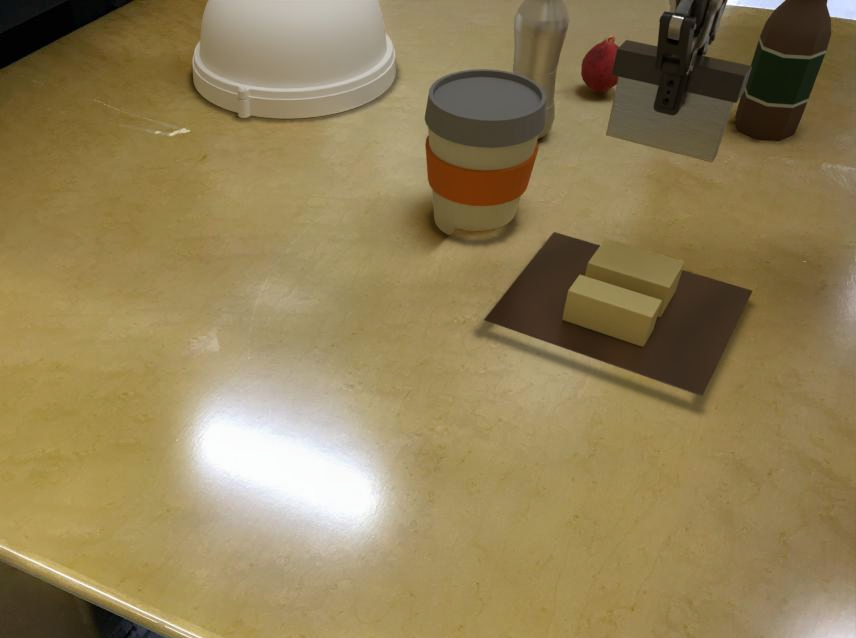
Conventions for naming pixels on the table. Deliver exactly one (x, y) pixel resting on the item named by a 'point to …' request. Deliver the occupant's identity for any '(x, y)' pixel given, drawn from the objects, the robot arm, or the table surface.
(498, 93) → the reusable coffee cup
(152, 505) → the table surface
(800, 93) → the beer bottle
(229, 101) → the dome cover
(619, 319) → the butter slice
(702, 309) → the cutting board
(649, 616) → the table surface
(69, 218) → the table surface
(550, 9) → the plastic bottle
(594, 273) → the butter block
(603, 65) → the pomegranate
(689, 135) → the bench scraper
